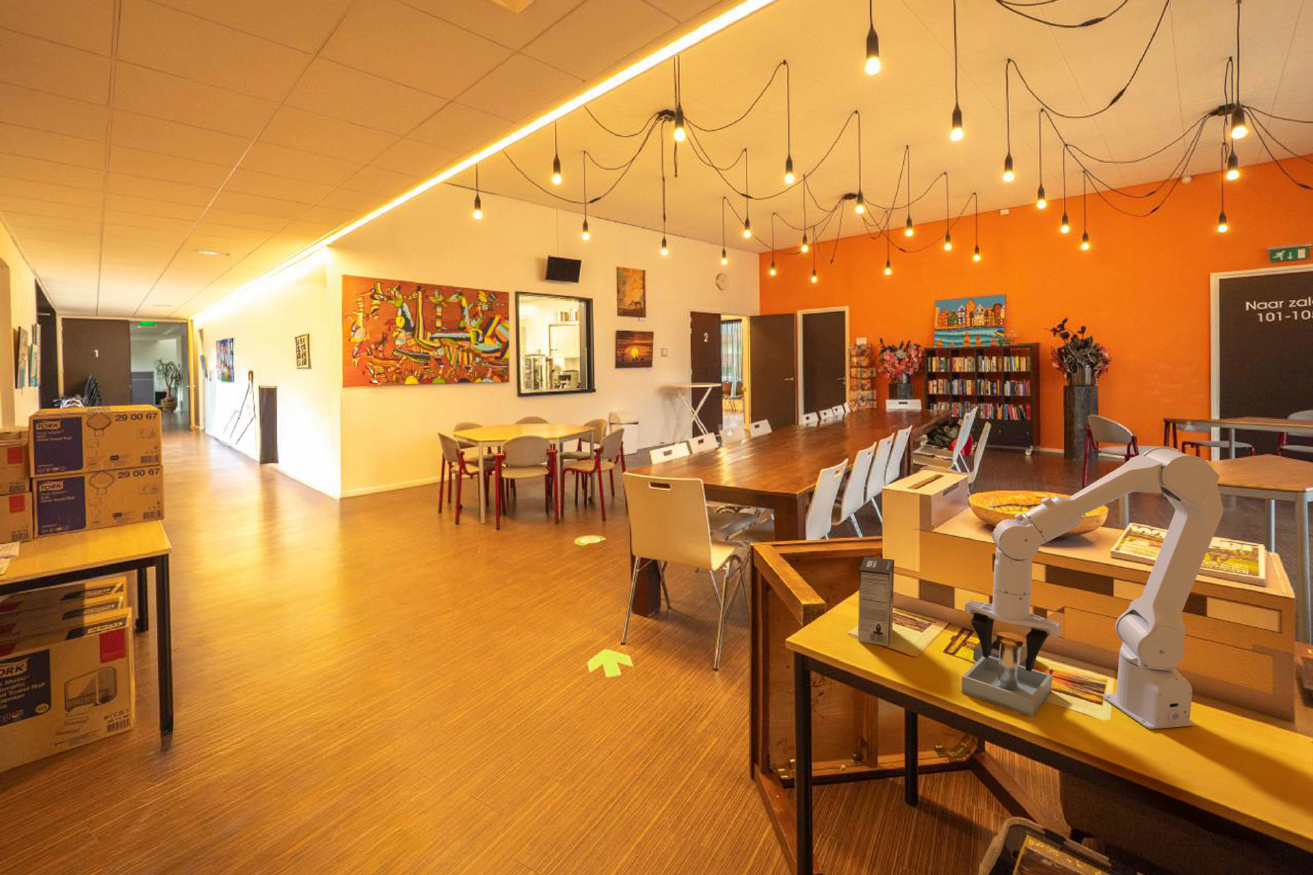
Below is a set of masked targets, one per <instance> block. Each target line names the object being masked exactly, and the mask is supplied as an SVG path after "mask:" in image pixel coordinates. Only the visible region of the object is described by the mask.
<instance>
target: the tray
mask: <svg viewBox="0 0 1313 875" xmlns="http://www.w3.org/2000/svg"><path fill="white" fill-rule="evenodd" d="M998 667H999V659H998V658H995V657H992V656H989V657H988V658H985V657H983V656H982V657H981V658H980V659H979V660H978V661H976V662H975V663H974V664H973V665H972V666H971V667H970V668H969V669H968V670H967V671H966V672H965V673H964V674H963V675H962V677H961V678H962V679H961V693H963V694H965V695H968V696H971V697H973V698H976V699H980V700H982V701H984V702H988V703H990V704H993V705H996V706H998V707H1002V708H1005V709H1006V710H1007V709H1008V710H1010V711H1012V712H1015V713H1018V714H1021V715H1024V716H1026V717H1028V718H1031V719H1032V718H1034V716H1035V715H1036V713H1037V712H1039V709H1040V708H1041V706H1042V705H1043V703H1045V701H1046V699H1047V698H1048V697H1049V695H1050V693H1051V692H1052V685H1053V675H1052V674H1050V673H1046V672H1042V671H1040V670H1036V669H1034V668H1033V669H1032V670H1031V671H1026V667H1024V666H1021V665H1020V666H1019V679H1018V689H1016V690H1009V689H1005V688H1002V687H1000V686H999V685H998V684H997V681H998Z"/></svg>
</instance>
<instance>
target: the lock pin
mask: <svg viewBox="0 0 1313 875" xmlns="http://www.w3.org/2000/svg"><path fill="white" fill-rule="evenodd" d="M995 634H996V635H995V636H996V641H997V642H999V643H1000V654H999V667H998V681H997V684H998V685H999V686H1000V687H1002V688H1005V689H1009V690H1016V689H1018V679H1019V666H1020V653H1021V647H1025V646H1026V644H1027V641H1026V637H1024V636H1023V635H1020V634H1017V633H1014V632H1009V631H999V632H996V633H995Z"/></svg>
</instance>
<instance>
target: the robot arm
mask: <svg viewBox="0 0 1313 875" xmlns="http://www.w3.org/2000/svg"><path fill="white" fill-rule="evenodd" d="M1220 476H1221V475H1219V473H1218V472H1217V471H1216V470H1215V469H1214V468H1213V467H1212V466H1211V465H1210V464H1209V463H1208V462H1207V460H1205V459H1204V458H1201V457H1200V456H1196V455H1192V454H1191V455H1190V454H1187V453H1185V452H1180V451H1177V450H1176V449H1173V448H1171V447H1168V446H1167V447H1166V446H1157V447H1153V448H1150V449H1148V450H1146V451H1145V452H1144V453H1143V454H1139V455H1136V456H1133V457H1131V458H1130V459H1129V460H1128V461H1126V462H1124V464H1123V465H1120V467H1117V468H1116V469H1115V470H1113V471H1111V472H1109V473H1108V474H1106V475H1103V477H1101V478H1099V479H1098V480H1095V481H1094V482H1092V483H1090V484H1089V485H1088V486H1086V487H1084V488H1083V489H1081V490H1079V491H1077V492H1076V493H1074V494H1073V495H1071V496H1070V497H1063V496H1058V495H1056V496H1053V497H1051V498H1050V497H1048V496H1045V497H1044V498H1042V499H1040V502H1041V503H1040V504H1039V505H1036V506H1035V507H1033V508H1031V509H1029V510H1027V511H1026V512H1024V513H1022V514H1021V513H1020V512H1018V513H1017V514H1015V515H1014V518H1007V519H1004V520H1001V521H1000V522H998V523H997V524H996V525H995V528H994V529H993V531H992V532H991V539H992V541H993V542H994V543H995V544H996V547H995V555H994V556H995V559H994V562H993V563H994V565H993V588H992V603H987V602H986V603H985V602H979V601H973V600H970V599H969V600H968V601H966V602H965V603H964V614H967V615H972V614H973V615H972V618H971V619H970V623H971V626H972V627H973V629H974V631H975V633H976V635H977V638H978V641H979V642H980V644H981V648H982V652H983V657H985V658H988V657H989V656H990V655H991V650H992V635H993V630H994V623H995V621H999V622H1001V623H1006V624H1010V625H1013V626H1016V627H1020V628H1023V629H1028V630H1030V631H1029V632H1028V633H1027V634H1026V635H1025V639H1026V644H1027V659H1026V671H1031V670H1032V669H1033V670H1034V667H1035V664H1036V660H1037V657H1038V654H1039V652H1040V650H1041V649H1042V647H1043V645H1044V644H1045V641H1046V640H1047V639H1048V637H1051V638H1055V639H1056V638H1058V636H1060V632H1061V623H1060V622H1057V621H1053V620H1049V619H1047V618H1044V617H1042V616H1040V615H1037V614H1035V613H1031V601H1032V600H1031V598H1032V597H1031V596H1032V581H1033V579H1032V577H1033V558H1034V557H1035V556H1036V554H1037V553H1038V551H1039V550H1040V547H1041V545H1044V544H1046V543H1048V542H1050V541H1052V540H1054V539H1055V538H1057V537H1060V536H1061V535H1063V534H1065V533H1067V532H1069V531H1071V530H1073V529H1075V528H1077V527H1079V526H1080V525H1081V522H1082V519H1083V516H1084V515H1085V514H1089V513H1090V512H1092V511H1094V510H1096V509H1098V508H1100V507H1103V506H1105V505H1108V504H1109V503H1111V502H1113V501H1116V500H1118V499H1120V498H1123V497H1126V496H1127V495H1129V494H1131V493H1135V492H1136V493H1150V494H1151V493H1152V494H1163V495H1164V497H1165V498H1166V499H1167V500H1168V502H1169V503H1170V504H1171V505H1172V507H1173V508H1174V511H1175V512H1174V514H1173V517H1172V518H1171V521H1170V523H1169V526H1168V528H1167V532H1166V534H1165V536H1164V538H1163V542H1162V544H1161V545H1160V549H1159V552H1158V554H1157V557H1156V559H1155V562H1154V564H1153V567H1152V570H1151V572H1150V574H1149V577H1148V580H1147V582H1146V584H1145V587H1144V589H1143V592H1142V594H1141V596H1140V597H1138V598H1136V599H1134V600H1132V601H1131V602H1130V604H1129V606H1128V608H1127V610H1126V611H1125V612H1123V613H1122V614H1121V615H1120V616H1119V617H1118V618H1117V619H1116V621H1115V632H1116V634H1117V636H1118V638H1120V640H1122V644H1121V647H1120V648H1119V654H1118V666H1117V667H1118V670H1117V681H1116V691H1115V692H1113V693H1103V694H1102V699H1105V701H1107V702H1108V703H1110V704H1111V705H1113V706H1115V707H1116V708H1118V709H1119V710H1121V711H1122V712H1123V713H1125V714H1126V715H1128V716H1129V717H1131V718H1132V719H1134V720H1135V721H1137V722H1138V723H1139V724H1141V725H1142V726H1144V727H1145V728H1147V729H1149V730H1153V729H1166V728H1168V729H1169V728H1178V727H1191V726H1194V724H1195V723H1194V721H1193V720H1192V719H1191V708H1192V699H1193V688H1192V685H1191V683H1190V682H1189V680H1188V679H1186V678H1185V677H1184V676H1183V675H1181V673H1180V672H1179V671H1178V670H1177V668H1176V667H1177V666H1178V665H1179V664H1180V663H1181V662H1182V661H1183V660H1184V657H1185V654H1186V653H1185V647H1184V646H1185V645H1184V638H1185V636H1186V634H1187V632H1186V626H1185V623H1184V619H1183V614H1182V613H1183V610H1184V608H1185V606H1186V604H1187V601H1188V598H1189V595H1190V594H1191V591H1192V589H1193V587H1194V584H1195V582H1196V579H1197V576H1198V574H1199V572H1200V569H1201V568H1202V564H1203V561H1204V560H1205V557H1206V555H1207V553H1208V550H1209V547H1210V546H1211V543H1212V541H1213V538H1214V535H1215V534H1216V531H1217V528H1218V526H1219V523H1220V521H1221V519H1222V516H1223V513H1224V505H1223V502H1222V497H1221V494H1220V490H1219V485H1218V482H1219V480H1220Z"/></svg>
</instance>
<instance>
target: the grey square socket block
mask: <svg viewBox="0 0 1313 875" xmlns="http://www.w3.org/2000/svg"><path fill="white" fill-rule="evenodd" d="M999 654H1000V643H999V642H997V641H996V635H995V634H992V650H991V655H990V656H992V657H995V658H998V659H999ZM972 655H973V658H972V659H973V661H976V662H977V661H978V660H979V659H980V658H981V657H982V656H983V652H982V648H981V644H980V641H979V642H978V643H977V644H976V645H975V646H974V647H973V654H972ZM1026 659H1027V643H1026V646H1025V647H1021V653H1020V665H1021V666H1024V667H1026Z"/></svg>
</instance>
